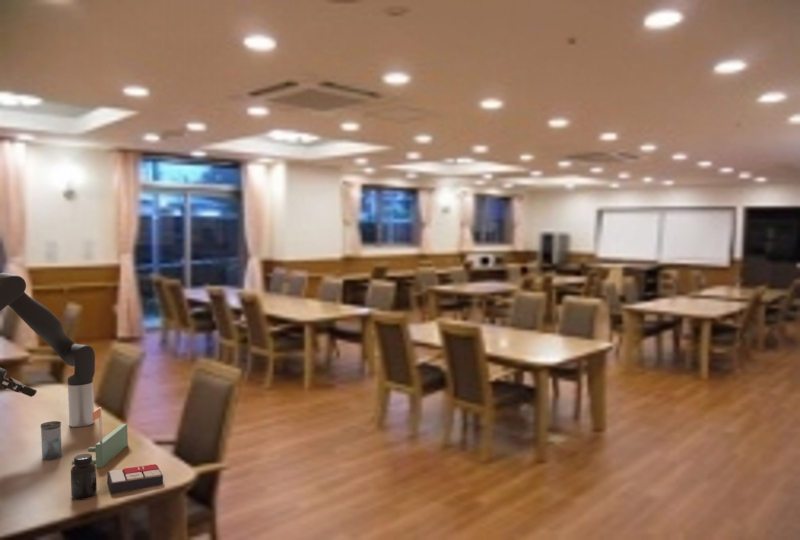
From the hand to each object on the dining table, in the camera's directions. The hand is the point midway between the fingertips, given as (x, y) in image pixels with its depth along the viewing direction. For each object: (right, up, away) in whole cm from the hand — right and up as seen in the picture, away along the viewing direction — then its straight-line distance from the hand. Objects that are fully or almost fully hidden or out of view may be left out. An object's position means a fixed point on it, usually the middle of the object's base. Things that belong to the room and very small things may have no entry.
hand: (34, 393), depth 217 cm
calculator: (+46, -24, -24) cm, 57 cm away
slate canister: (+7, -22, -1) cm, 23 cm away
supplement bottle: (+35, -24, -33) cm, 54 cm away
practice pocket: (+23, -22, -2) cm, 32 cm away
